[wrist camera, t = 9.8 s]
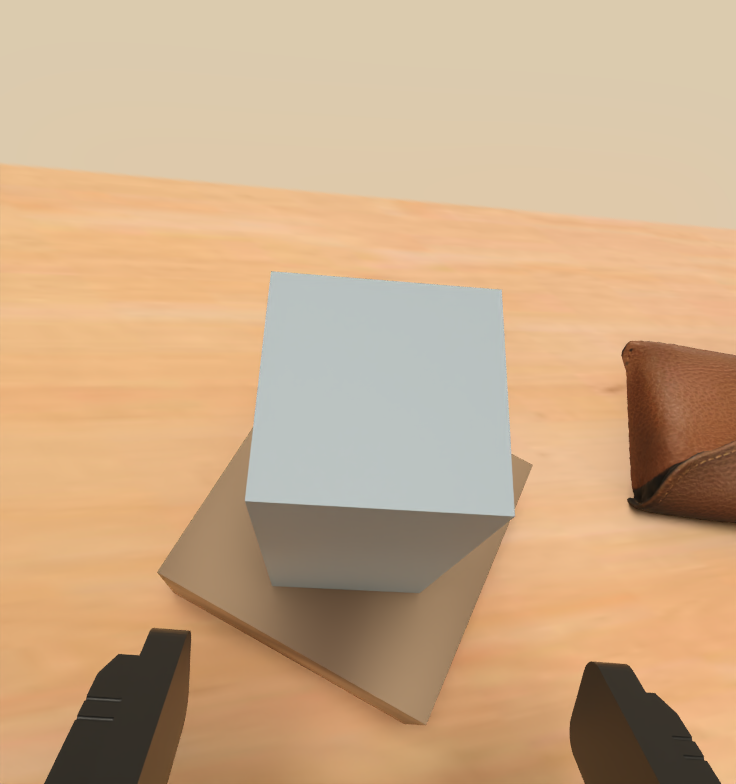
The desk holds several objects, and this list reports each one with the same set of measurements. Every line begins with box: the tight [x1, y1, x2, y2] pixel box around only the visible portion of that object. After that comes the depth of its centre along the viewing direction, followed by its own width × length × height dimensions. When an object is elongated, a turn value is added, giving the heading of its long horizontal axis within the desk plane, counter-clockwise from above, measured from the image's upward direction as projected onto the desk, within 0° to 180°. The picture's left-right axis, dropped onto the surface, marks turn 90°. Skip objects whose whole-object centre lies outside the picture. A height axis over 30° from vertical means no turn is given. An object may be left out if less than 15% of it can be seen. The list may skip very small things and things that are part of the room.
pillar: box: [245, 271, 515, 593], centre depth 16 cm, size 4×4×10 cm
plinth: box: [157, 428, 533, 725], centre depth 23 cm, size 9×9×4 cm
